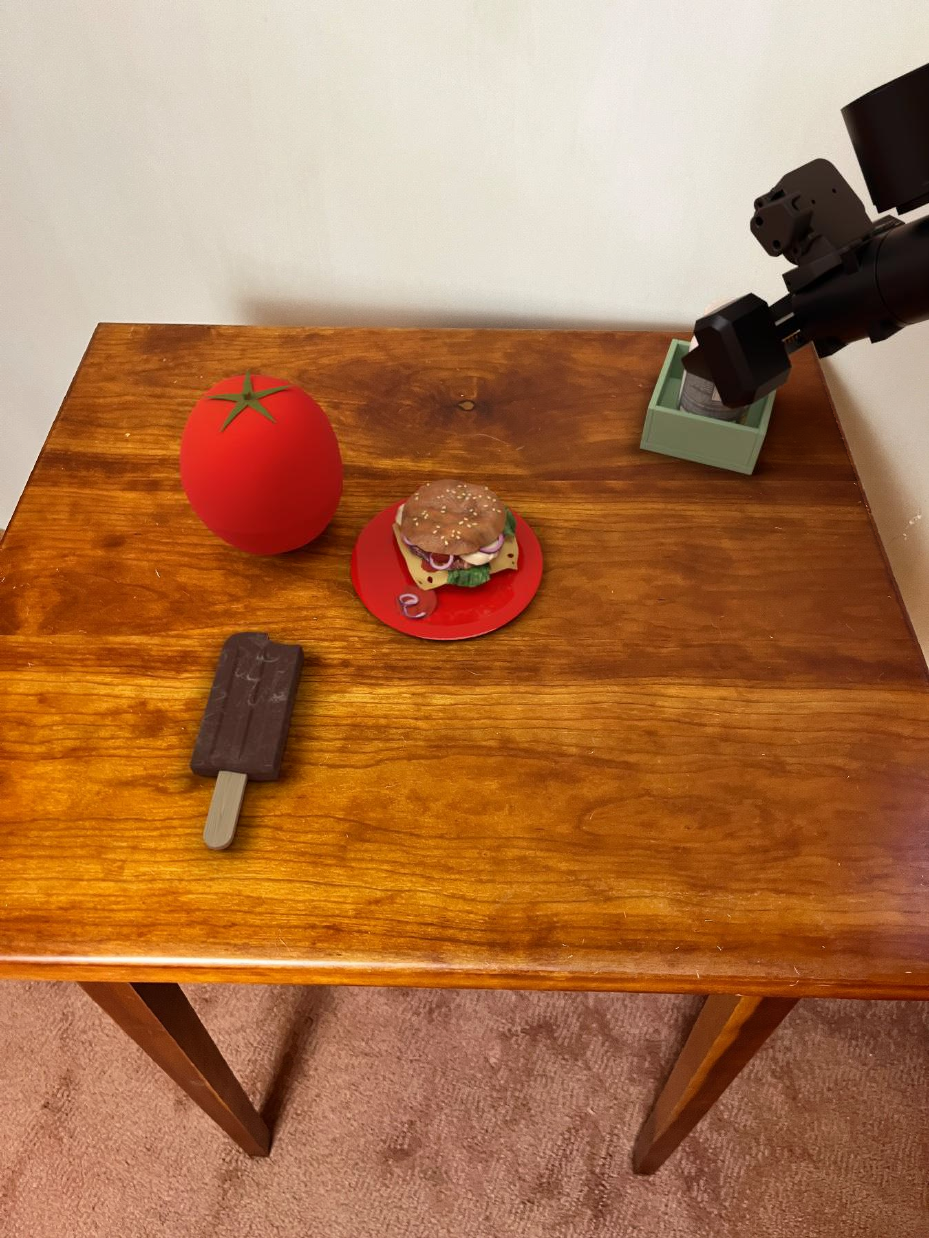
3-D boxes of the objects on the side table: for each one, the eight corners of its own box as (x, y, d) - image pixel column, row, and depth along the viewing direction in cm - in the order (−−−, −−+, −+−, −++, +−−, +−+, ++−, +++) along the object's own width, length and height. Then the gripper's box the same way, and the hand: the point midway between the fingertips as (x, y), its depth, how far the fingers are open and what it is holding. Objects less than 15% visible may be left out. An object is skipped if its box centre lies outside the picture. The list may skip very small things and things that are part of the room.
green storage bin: (768, 403, 77) (783, 361, 73) (751, 475, 72) (765, 434, 68) (663, 379, 79) (672, 338, 75) (639, 448, 74) (648, 407, 70)
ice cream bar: (262, 857, 54) (307, 647, 63) (256, 846, 52) (303, 633, 61) (174, 850, 54) (231, 642, 63) (166, 839, 53) (226, 628, 61)
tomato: (343, 590, 65) (319, 460, 55) (193, 585, 66) (141, 456, 55) (360, 477, 72) (341, 342, 62) (224, 473, 72) (183, 338, 62)
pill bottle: (753, 440, 73) (788, 336, 65) (683, 446, 73) (710, 343, 65) (731, 393, 76) (762, 289, 68) (665, 399, 76) (688, 295, 68)
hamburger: (332, 518, 69) (321, 461, 65) (505, 477, 72) (508, 419, 67) (378, 665, 62) (370, 612, 57) (571, 613, 64) (579, 559, 59)
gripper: (957, 94, 56) (769, 193, 70) (754, 197, 49) (592, 284, 63) (1011, 267, 59) (820, 329, 73) (826, 387, 52) (655, 430, 66)
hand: (727, 339), depth 69 cm, fingers open, 9 cm apart
